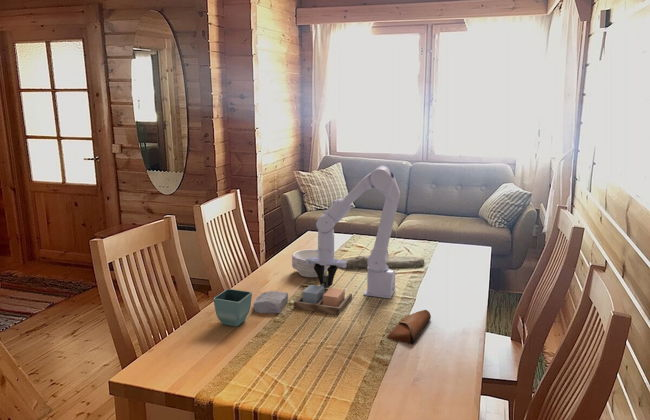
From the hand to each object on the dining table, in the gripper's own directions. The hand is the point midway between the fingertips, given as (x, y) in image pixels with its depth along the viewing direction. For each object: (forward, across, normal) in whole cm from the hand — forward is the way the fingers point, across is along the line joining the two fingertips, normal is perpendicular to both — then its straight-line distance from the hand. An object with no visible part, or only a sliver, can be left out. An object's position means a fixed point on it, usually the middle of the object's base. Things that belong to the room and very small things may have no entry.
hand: (326, 284), depth 184 cm
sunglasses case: (+2, +34, -22) cm, 41 cm away
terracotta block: (+2, +7, -13) cm, 15 cm away
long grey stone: (+2, +12, +32) cm, 34 cm away
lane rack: (+2, +4, -13) cm, 13 cm away
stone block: (+2, -12, -20) cm, 24 cm away
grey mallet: (+2, 0, -7) cm, 8 cm away
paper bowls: (+2, -11, +14) cm, 17 cm away
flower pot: (+2, -17, -36) cm, 39 cm away
